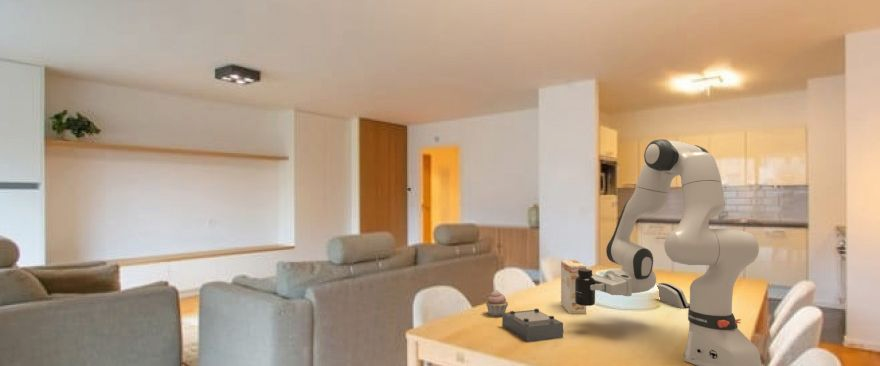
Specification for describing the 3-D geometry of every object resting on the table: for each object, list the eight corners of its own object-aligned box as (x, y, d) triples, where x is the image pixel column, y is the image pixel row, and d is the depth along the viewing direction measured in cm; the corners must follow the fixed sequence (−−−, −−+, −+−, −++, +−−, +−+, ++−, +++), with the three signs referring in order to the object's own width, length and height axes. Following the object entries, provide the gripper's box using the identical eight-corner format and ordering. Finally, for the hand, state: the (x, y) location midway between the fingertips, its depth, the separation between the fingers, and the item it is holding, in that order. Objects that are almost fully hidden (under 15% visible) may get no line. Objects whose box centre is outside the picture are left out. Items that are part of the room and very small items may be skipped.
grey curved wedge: (692, 308, 200) (685, 286, 199) (682, 312, 199) (675, 290, 198) (666, 298, 216) (659, 278, 216) (657, 302, 215) (650, 282, 215)
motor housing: (563, 337, 162) (563, 318, 162) (526, 342, 157) (526, 322, 157) (531, 320, 181) (531, 304, 181) (498, 324, 177) (498, 307, 177)
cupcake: (509, 312, 193) (509, 288, 193) (506, 318, 184) (506, 293, 184) (487, 310, 196) (487, 286, 196) (483, 317, 187) (483, 291, 187)
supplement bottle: (573, 304, 166) (573, 270, 166) (577, 300, 172) (577, 267, 172) (593, 307, 163) (593, 272, 163) (596, 302, 169) (596, 269, 169)
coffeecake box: (586, 314, 191) (587, 265, 191) (569, 314, 191) (569, 265, 191) (576, 304, 206) (577, 259, 206) (560, 304, 206) (560, 259, 206)
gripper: (596, 269, 182) (565, 271, 177) (634, 278, 163) (601, 281, 158) (596, 285, 182) (565, 288, 177) (634, 297, 163) (601, 300, 158)
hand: (582, 285), depth 168 cm, fingers closed on supplement bottle, 7 cm apart
